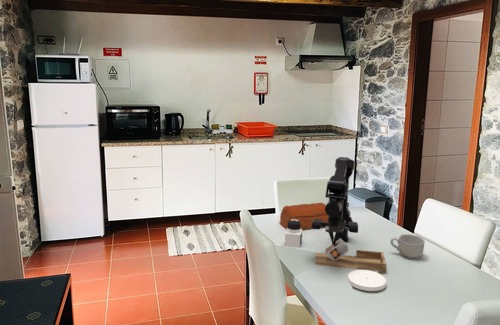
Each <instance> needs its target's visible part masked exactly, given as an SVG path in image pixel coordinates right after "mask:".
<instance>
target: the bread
mask: <svg viewBox="0 0 500 325" xmlns="http://www.w3.org/2000/svg"><path fill="white" fill-rule="evenodd" d="M326 205H327V204H325V203H323V202H317V203H314V202H313V203H301V204H294V205H285V206H283V207H282V210H281V212H280V218H279V219H280V220H279V222H280V226H282V227H283V228H284V229H285V230H287V222H288V221H289V220H298V221H300V222H301V228H300V229H302V231H304V230H311V228H312V220H313V219H322V222H328V215H327V214H326V212H325V207H326ZM322 228H323V227H321V228H320V229H322Z"/></svg>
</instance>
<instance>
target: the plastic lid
mask: <svg viewBox="0 0 500 325" xmlns="http://www.w3.org/2000/svg"><path fill="white" fill-rule="evenodd" d="M347 281H348V283H349V284H350V286H352V287H353V288H356V289H358V290H360V291H361V290H362V291H366V292H378V291H381V290H384V289H385V288H386V286H387V279H386V277H385V276H383V275H382V273H378V271H375V270H364V269H355V270H352V271H350V272H348V274H347Z"/></svg>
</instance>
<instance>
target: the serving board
mask: <svg viewBox="0 0 500 325" xmlns="http://www.w3.org/2000/svg"><path fill="white" fill-rule="evenodd" d="M355 252H356V253H355V255H346V254H345V255H343V256H342V257H341V258H339V259H338V260H336V261H335V262H334V263H333V262H332V260H331V259H330V258H329V257H328V256H327V255H326V252H325V253H324V252H316V253H315V262H314V265H315V266H326V267H335V268H346V269H355V270H369V271H374V272H377V273H379V274H381V275H382V274H385V275H386V274H387V273H386V272H387V262H386V258H385V254H384V252H383V251H373V250H371V251H369V250H361V249H356V250H355Z"/></svg>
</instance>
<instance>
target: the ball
mask: <svg viewBox="0 0 500 325" xmlns="http://www.w3.org/2000/svg"><path fill="white" fill-rule="evenodd" d="M331 255H332V256H333V257H337V255H338V253H337V251H335V250H333V251H331Z"/></svg>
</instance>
